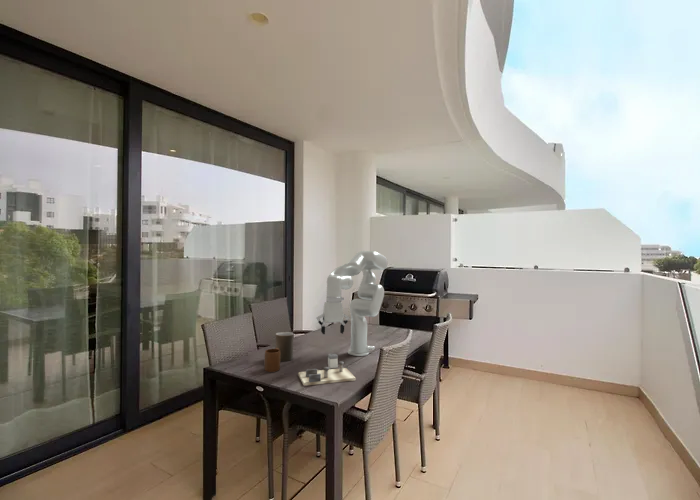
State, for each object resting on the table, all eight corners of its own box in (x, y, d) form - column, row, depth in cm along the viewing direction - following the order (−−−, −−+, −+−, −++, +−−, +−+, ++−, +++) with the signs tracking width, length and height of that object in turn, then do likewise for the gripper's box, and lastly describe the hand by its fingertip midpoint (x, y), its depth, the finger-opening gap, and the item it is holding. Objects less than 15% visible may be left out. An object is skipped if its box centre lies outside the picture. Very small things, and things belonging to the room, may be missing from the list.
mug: (270, 364, 177) (271, 345, 177) (284, 365, 176) (285, 346, 176) (261, 372, 165) (262, 352, 165) (277, 373, 164) (277, 353, 164)
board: (346, 370, 170) (346, 359, 170) (355, 380, 157) (355, 368, 157) (298, 374, 162) (298, 362, 162) (303, 385, 149) (304, 372, 149)
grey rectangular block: (335, 365, 178) (335, 353, 178) (337, 367, 174) (337, 355, 174) (327, 365, 176) (328, 354, 176) (329, 368, 172) (330, 356, 172)
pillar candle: (289, 362, 180) (290, 333, 180) (271, 360, 182) (272, 332, 182) (295, 357, 190) (296, 330, 190) (279, 355, 192) (280, 328, 192)
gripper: (347, 298, 182) (346, 331, 181) (315, 299, 177) (314, 332, 176) (352, 300, 175) (351, 334, 174) (318, 301, 169) (317, 335, 169)
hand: (332, 333), depth 175 cm, fingers open, 9 cm apart
